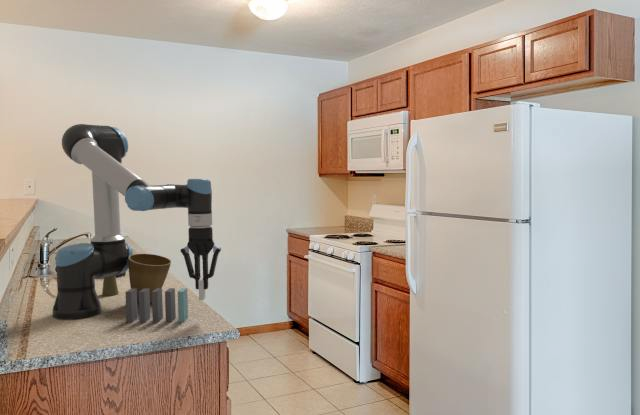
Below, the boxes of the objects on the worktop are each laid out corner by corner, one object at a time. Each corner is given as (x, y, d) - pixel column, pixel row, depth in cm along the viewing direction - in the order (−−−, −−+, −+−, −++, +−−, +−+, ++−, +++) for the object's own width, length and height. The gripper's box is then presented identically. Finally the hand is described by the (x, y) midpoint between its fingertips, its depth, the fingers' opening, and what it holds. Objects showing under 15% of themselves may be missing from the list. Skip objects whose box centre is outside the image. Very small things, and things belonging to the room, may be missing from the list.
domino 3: (152, 322, 168) (151, 291, 168) (157, 318, 173) (156, 288, 173) (158, 322, 168) (157, 291, 168) (163, 318, 173) (162, 288, 173)
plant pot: (173, 303, 197) (179, 262, 194) (141, 311, 184) (148, 267, 181) (146, 290, 204) (152, 251, 201) (113, 297, 191) (119, 255, 189)
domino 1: (126, 322, 168) (125, 292, 168) (132, 318, 173) (131, 288, 173) (132, 322, 168) (131, 292, 168) (137, 318, 173) (136, 288, 173)
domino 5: (178, 322, 168) (177, 291, 168) (182, 318, 173) (181, 288, 173) (184, 322, 168) (183, 291, 168) (188, 317, 173) (187, 288, 173)
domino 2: (139, 322, 168) (138, 291, 168) (144, 318, 173) (143, 288, 173) (145, 322, 168) (144, 291, 168) (150, 318, 173) (149, 288, 173)
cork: (112, 296, 204) (111, 268, 204) (98, 295, 206) (97, 268, 205) (121, 292, 210) (120, 265, 209) (108, 292, 211) (106, 265, 211)
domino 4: (165, 322, 168) (164, 291, 168) (170, 318, 173) (169, 288, 173) (171, 322, 168) (170, 291, 168) (175, 318, 173) (174, 288, 173)
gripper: (176, 228, 165) (179, 302, 167) (218, 227, 165) (220, 301, 167) (183, 225, 172) (185, 296, 174) (222, 225, 172) (224, 296, 174)
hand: (202, 299), depth 170 cm, fingers closed
